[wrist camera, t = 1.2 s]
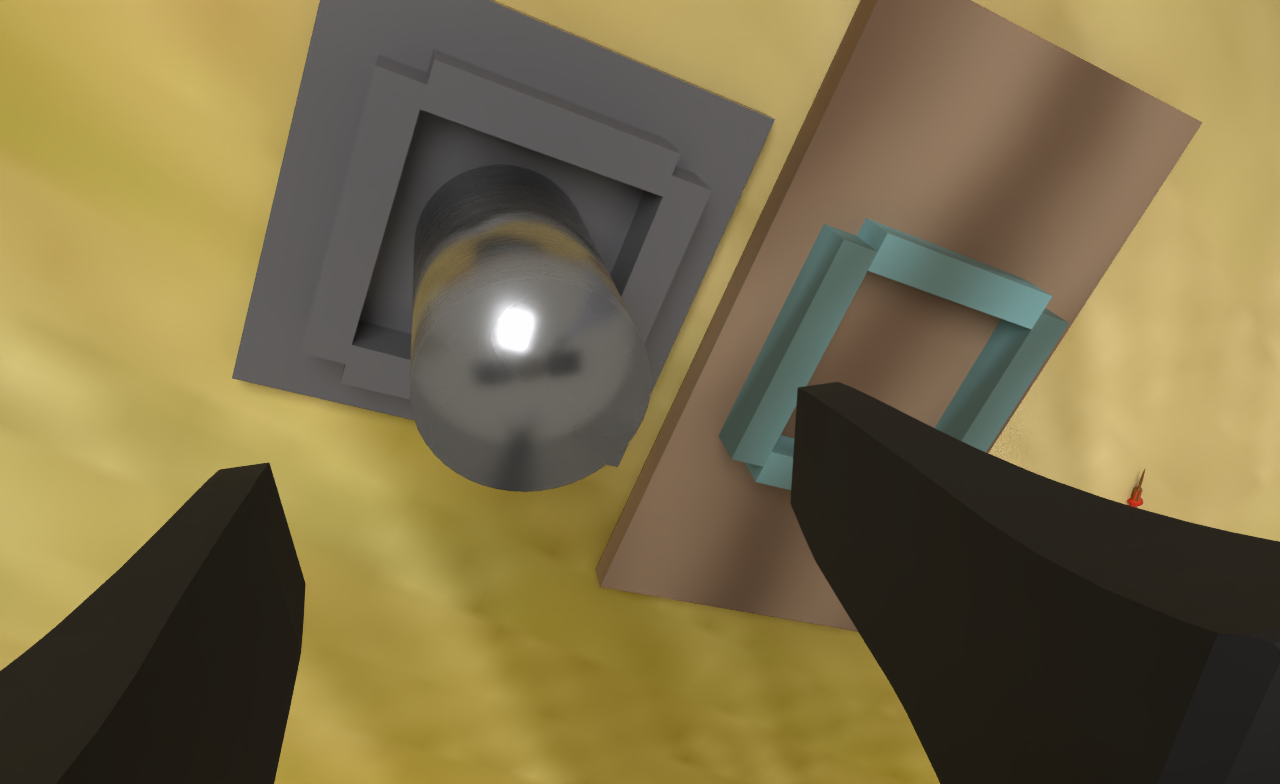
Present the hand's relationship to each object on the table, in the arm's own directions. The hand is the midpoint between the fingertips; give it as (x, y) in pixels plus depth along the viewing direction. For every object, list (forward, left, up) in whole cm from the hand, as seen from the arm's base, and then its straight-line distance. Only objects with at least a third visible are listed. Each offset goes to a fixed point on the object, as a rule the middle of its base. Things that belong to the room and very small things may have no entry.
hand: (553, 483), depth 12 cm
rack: (-11, 0, -10) cm, 15 cm away
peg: (0, 0, -10) cm, 10 cm away
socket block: (0, 0, -10) cm, 10 cm away
